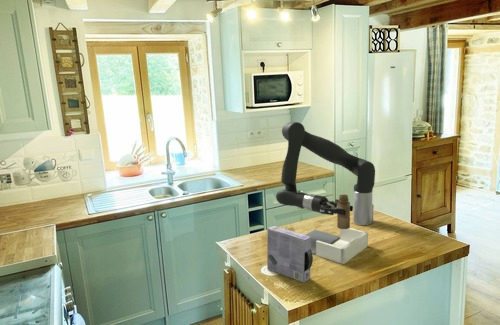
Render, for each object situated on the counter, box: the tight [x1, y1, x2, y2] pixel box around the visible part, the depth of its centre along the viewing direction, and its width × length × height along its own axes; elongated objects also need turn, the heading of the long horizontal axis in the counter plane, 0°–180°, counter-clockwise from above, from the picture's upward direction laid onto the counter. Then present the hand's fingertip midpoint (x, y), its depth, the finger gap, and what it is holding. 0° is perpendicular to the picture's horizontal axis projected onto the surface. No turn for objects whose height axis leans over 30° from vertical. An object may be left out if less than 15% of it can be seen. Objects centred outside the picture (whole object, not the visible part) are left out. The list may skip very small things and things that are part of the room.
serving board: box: [305, 229, 340, 256], centre depth 173 cm, size 22×14×1 cm, turn 137°
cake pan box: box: [266, 225, 314, 284], centre depth 145 cm, size 19×5×18 cm, turn 48°
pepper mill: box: [336, 194, 351, 230], centre depth 159 cm, size 5×5×14 cm
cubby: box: [315, 227, 369, 265], centre depth 163 cm, size 21×13×7 cm, turn 137°
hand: (349, 210), depth 157 cm, fingers closed on pepper mill, 5 cm apart
